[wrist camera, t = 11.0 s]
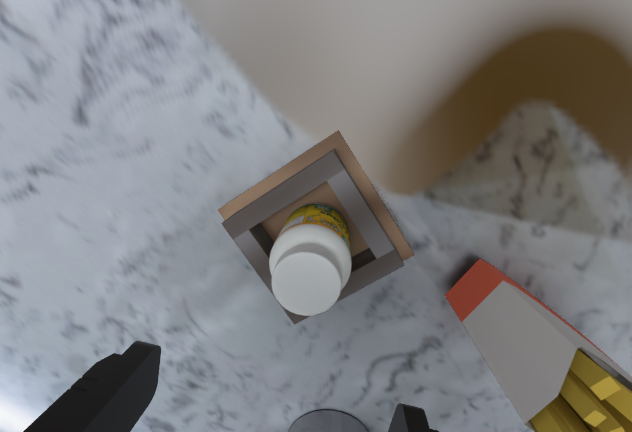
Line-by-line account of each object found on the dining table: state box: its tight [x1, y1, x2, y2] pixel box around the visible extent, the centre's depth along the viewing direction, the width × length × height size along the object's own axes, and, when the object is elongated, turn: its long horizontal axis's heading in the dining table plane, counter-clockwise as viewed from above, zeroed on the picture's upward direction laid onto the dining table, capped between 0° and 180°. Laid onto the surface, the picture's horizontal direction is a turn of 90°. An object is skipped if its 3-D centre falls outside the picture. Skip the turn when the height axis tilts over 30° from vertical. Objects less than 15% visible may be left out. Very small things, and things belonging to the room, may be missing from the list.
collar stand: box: [218, 131, 414, 324], centre depth 27 cm, size 12×12×4 cm
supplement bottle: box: [269, 203, 352, 316], centre depth 23 cm, size 5×5×10 cm
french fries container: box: [445, 259, 632, 432], centre depth 21 cm, size 5×11×18 cm, turn 54°
